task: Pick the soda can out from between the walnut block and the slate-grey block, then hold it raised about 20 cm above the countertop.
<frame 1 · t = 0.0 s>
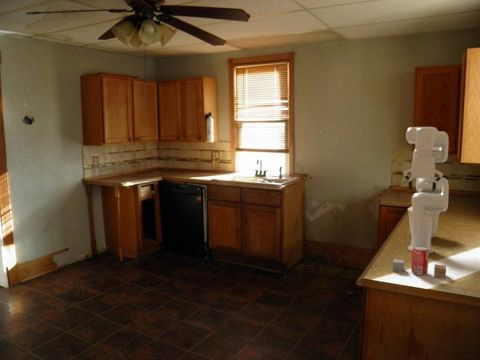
hand: (421, 190, 191), 37 cm above the worktop, tool pointing down, fingers open, 9 cm apart
soda can: (419, 273, 185), on the worktop
walnut block: (439, 276, 181), on the worktop
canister: (422, 237, 243), on the worktop
slate grey block: (398, 270, 189), on the worktop
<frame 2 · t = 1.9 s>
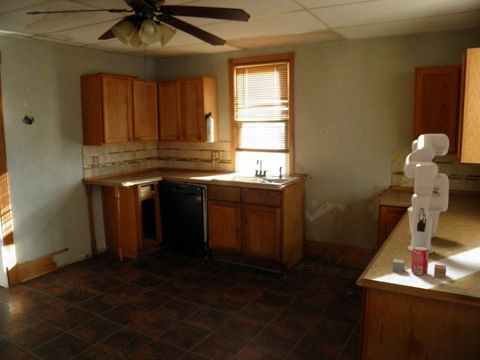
hand: (421, 229, 182), 21 cm above the worktop, tool pointing down, fingers open, 9 cm apart
nothing on the worktop moved.
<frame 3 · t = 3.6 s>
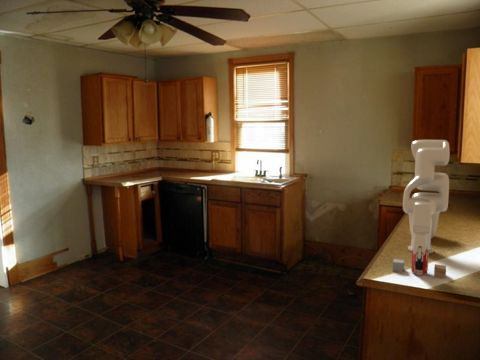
hand: (419, 266, 185), 3 cm above the worktop, tool pointing down, fingers closed on soda can, 7 cm apart
soda can: (419, 273, 185), on the worktop, touching gripper
everything else where it was.
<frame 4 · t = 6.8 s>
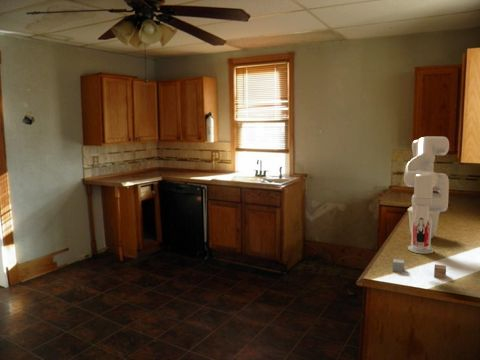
hand: (420, 239, 183), 16 cm above the worktop, tool pointing down, fingers closed on soda can, 7 cm apart
soda can: (420, 246, 184), point 13 cm above the worktop, touching gripper
everything else where it was.
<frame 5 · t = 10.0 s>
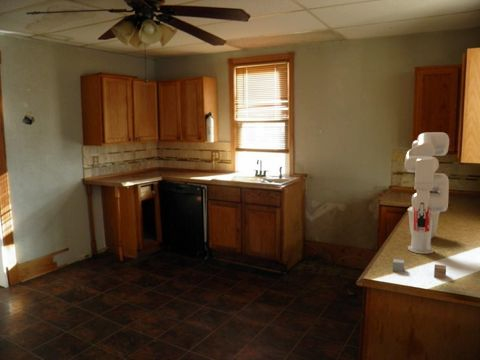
hand: (421, 224, 182), 23 cm above the worktop, tool pointing down, fingers closed on soda can, 7 cm apart
soda can: (421, 231, 182), point 20 cm above the worktop, touching gripper
everything else where it was.
at the end: the gripper is holding soda can; soda can point 19.5 cm above the worktop; walnut block moved 0.1 cm from its start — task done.
